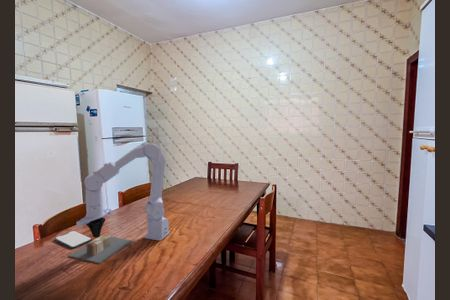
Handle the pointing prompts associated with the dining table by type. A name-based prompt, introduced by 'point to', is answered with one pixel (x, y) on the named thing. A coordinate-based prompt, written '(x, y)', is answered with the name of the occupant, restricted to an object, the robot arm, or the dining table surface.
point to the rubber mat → (104, 254)
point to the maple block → (98, 245)
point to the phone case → (73, 239)
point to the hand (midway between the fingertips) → (96, 236)
